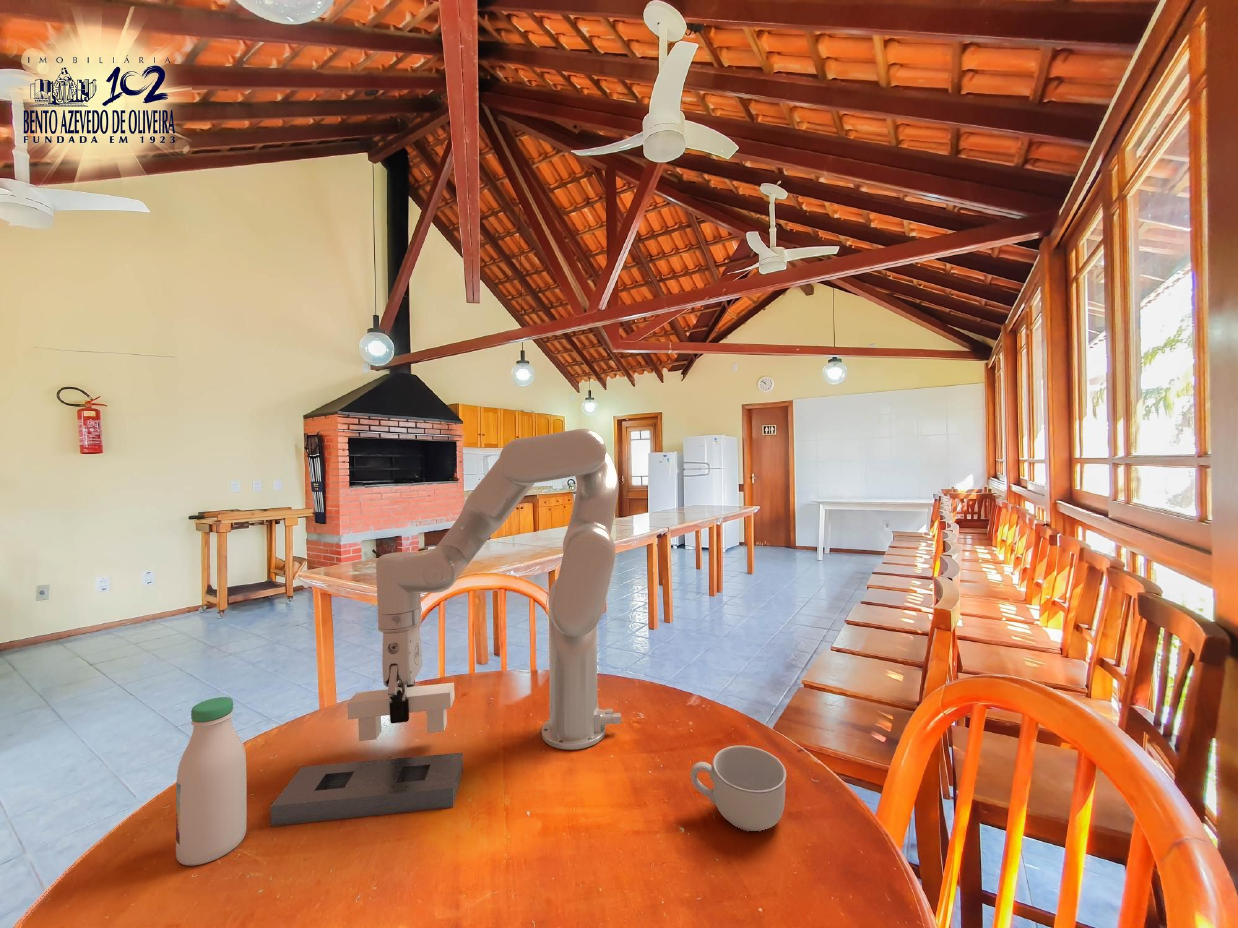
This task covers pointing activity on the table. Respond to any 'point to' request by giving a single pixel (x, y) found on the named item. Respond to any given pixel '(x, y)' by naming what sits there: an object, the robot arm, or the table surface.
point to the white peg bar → (420, 699)
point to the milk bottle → (211, 786)
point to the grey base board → (369, 789)
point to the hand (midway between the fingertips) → (403, 714)
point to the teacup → (745, 786)
